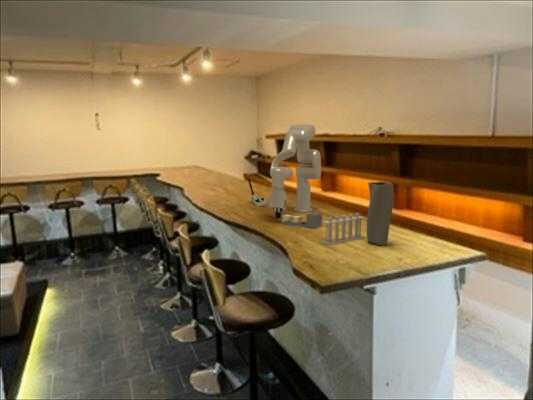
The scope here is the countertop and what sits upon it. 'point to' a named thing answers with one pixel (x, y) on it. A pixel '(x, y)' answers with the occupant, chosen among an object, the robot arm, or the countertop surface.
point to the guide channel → (295, 224)
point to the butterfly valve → (256, 197)
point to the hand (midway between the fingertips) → (278, 218)
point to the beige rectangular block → (292, 219)
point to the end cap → (314, 220)
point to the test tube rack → (343, 229)
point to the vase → (379, 212)
